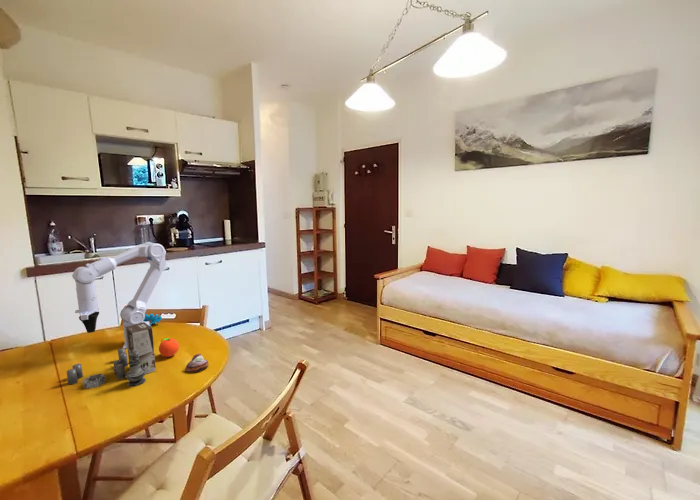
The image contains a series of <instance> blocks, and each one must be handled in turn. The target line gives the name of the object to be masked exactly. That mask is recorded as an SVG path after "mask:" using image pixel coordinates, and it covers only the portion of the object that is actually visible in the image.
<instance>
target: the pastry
mask: <svg viewBox="0 0 700 500" xmlns="http://www.w3.org/2000/svg"><path fill="white" fill-rule="evenodd" d="M208 367H209V362H208V360H207V359H205V358H204V357H203V355H202V354H201V353H196V354H195V355H193V357H192V358H191V360H190V361H189V362H187V364H186V366H185V372H186V373H188V372H189V373H191V374H192V372H193V373H199V372H202V371H204V370H205V369H207V368H208Z"/></svg>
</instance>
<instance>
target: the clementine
mask: <svg viewBox="0 0 700 500" xmlns="http://www.w3.org/2000/svg"><path fill="white" fill-rule="evenodd" d="M179 348H180V345H179V341H178V340H176V339H174V338H167V337H166V338H163V339H161V341H160V343H159V345H158V352H159V353H160V355H161V356H162V357H165V358H166V357H167V358H168V357H173V356H174V355H176V354H177V352H178V351H179Z"/></svg>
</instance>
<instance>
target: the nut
mask: <svg viewBox="0 0 700 500" xmlns="http://www.w3.org/2000/svg"><path fill="white" fill-rule="evenodd" d="M106 382H107V381H106V376H105V375H104V374H103V373H98V374H97V373H95V374H93V375H89V376H88V377H86V378H84V379H83V380H82V386H83V388H85V389H86V390H88V389H93V388H98V387H100V386H101V385H103V384H105V383H106Z"/></svg>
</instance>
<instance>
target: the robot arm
mask: <svg viewBox="0 0 700 500" xmlns="http://www.w3.org/2000/svg"><path fill="white" fill-rule="evenodd" d="M166 254H167V251H166V249H165V247H164V246H163V245H162V244H160V243H154V242H151V241H147V242H146V241H145V242H144V243H141V244H137V245H135V246H133V247H132V248H130V249H127V250H125V251H123V252H121V253H119V254H117V255H115V256H113V257H109V256H105V257H104V256H101V257H99V259H98V260H96V261H94V262H90V263H86V264H85V266H78V267H77V268H75V269H74V271H73V273H72V275H71V277H72V279H73V280H74V281H75V290H76V291H75V292H76V298H77V305H78V309H76V310H75V311H74V313H75V314H78V315H79V317H78V319H79V320H80V321H81V323H82V324H83V327H84V328H85V329H86V332H87V333H90V334H91V333H95V331H96V329H97V320H98V316H99V314H100V311H99V310H100V309H99V306H98V297H97V296H98V295H97V289H96V283H95V280H96V279H97V278H99V277H102V276H103V275H106V274H108V273H110V272H112V271H114V270H116V267H117V266H118V265H120V264H123V263H125V262H128V261H130V260H132V259H135V258H136V257H139V258H140V257H141V258H142V257H143V258H144V257H145V258H146V260H147V261H148V263H149V265H150V266H149V268H148V270H147V272H146V274H145V275H144V277H143V280H142V281H141V283H140V285H139V286H138V289H137V291H136V292H135V294H134V296H133V299H131V300H130V301H128V303H126V305H125V307H123V308H122V309H121V311H120V313H119V316H120V319H122V320H123V323H122V326H123V327H122V329H123V336H124V344H123V346H122V348H125V349H127V341H126V332H125V327H127V326H132V325H135V324H138V323H143V322H145V321H143V320H144V318H145V314H146V311H147V303H148V301H149V299H150V297H151V295H152V293H153V291H154V290H155V287H156V286H157V283H158V282H159V279H160V278H161V276H162V274H163V272H164V270H165V268H166ZM145 323H146V324H147V325H149V326H150V324H149V321H146V322H145ZM150 327H151V326H150Z"/></svg>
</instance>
